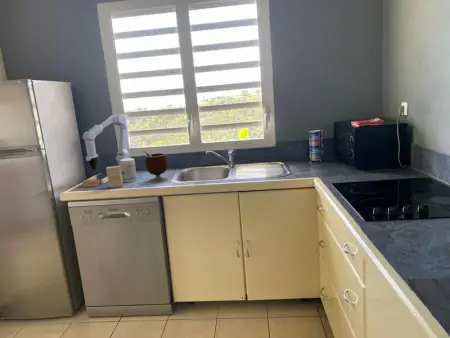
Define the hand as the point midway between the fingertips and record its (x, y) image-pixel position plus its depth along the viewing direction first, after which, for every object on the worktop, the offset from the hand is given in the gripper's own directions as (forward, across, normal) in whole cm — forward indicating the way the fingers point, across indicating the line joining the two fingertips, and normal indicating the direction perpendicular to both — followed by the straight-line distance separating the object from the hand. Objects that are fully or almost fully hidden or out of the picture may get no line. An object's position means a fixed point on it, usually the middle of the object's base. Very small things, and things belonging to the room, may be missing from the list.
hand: (94, 169), depth 239 cm
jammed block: (+9, +8, 0) cm, 12 cm away
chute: (+9, -5, 0) cm, 11 cm away
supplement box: (+10, +14, +19) cm, 25 cm away
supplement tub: (+10, -1, +23) cm, 25 cm away
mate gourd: (+10, +3, +43) cm, 44 cm away
